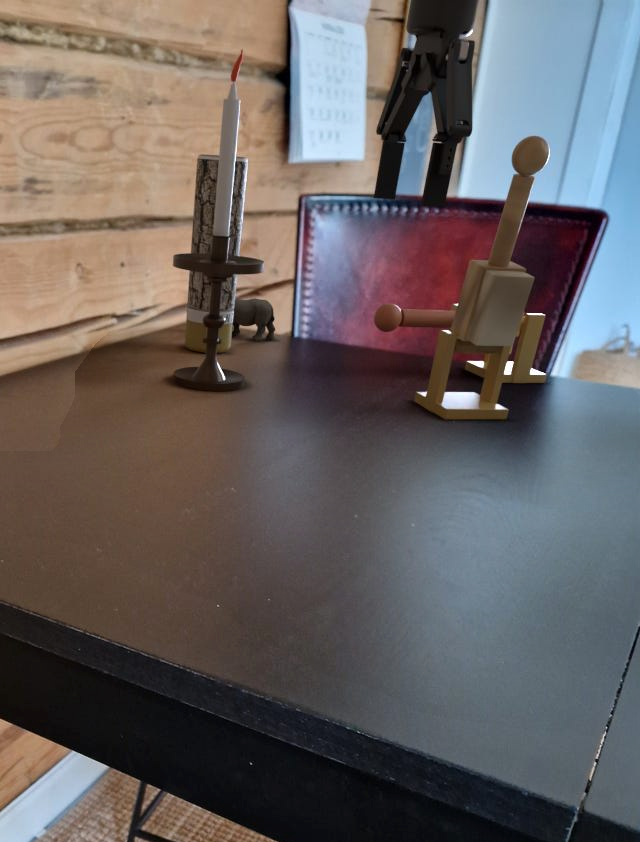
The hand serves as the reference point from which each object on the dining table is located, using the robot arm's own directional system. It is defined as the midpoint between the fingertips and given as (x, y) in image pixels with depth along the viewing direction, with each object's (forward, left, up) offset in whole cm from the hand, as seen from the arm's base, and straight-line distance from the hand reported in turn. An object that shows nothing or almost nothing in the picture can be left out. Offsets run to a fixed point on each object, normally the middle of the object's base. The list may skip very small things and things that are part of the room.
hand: (407, 202), depth 108 cm
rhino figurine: (+13, -26, -21) cm, 36 cm away
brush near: (-3, +23, -4) cm, 24 cm away
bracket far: (-20, 0, -21) cm, 29 cm away
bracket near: (-3, +18, -21) cm, 28 cm away
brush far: (-9, 0, -18) cm, 20 cm away
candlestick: (+25, +5, -21) cm, 34 cm away
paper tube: (+20, -15, -21) cm, 33 cm away
